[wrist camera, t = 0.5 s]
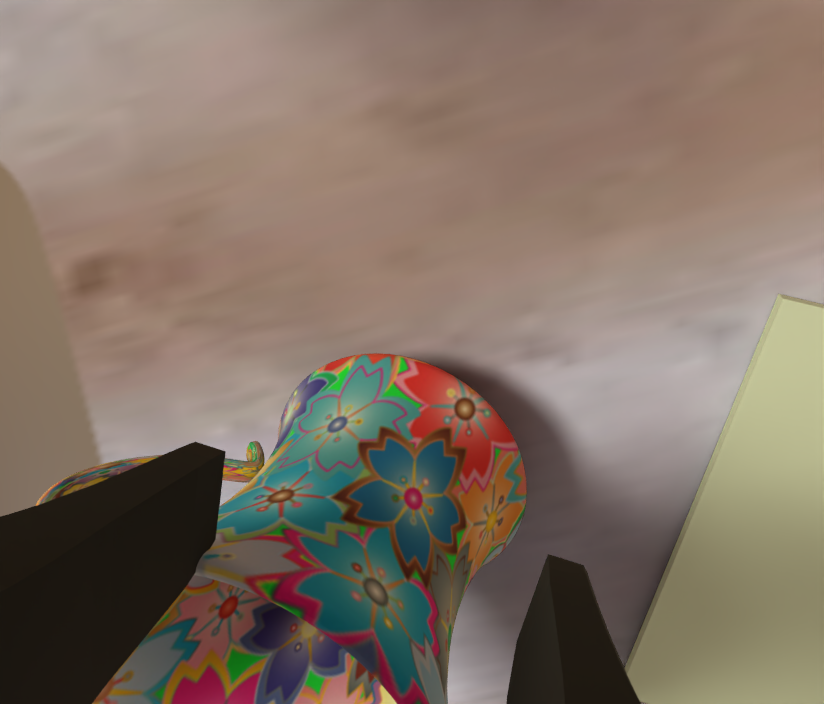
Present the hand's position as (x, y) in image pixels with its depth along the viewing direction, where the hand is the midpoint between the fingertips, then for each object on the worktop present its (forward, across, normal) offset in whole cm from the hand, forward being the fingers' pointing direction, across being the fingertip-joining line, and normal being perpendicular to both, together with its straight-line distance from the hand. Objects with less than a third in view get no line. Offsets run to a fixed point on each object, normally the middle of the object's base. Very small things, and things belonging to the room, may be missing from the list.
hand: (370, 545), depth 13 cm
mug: (+10, +2, +4) cm, 11 cm away
